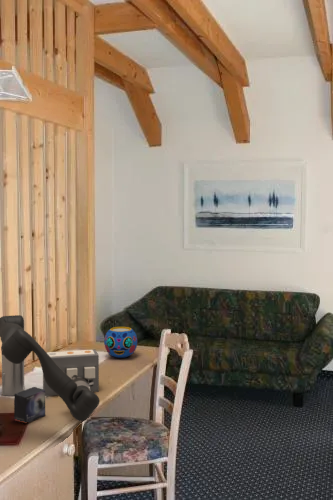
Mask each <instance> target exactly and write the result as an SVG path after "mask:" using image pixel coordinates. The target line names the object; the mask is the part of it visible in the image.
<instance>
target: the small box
mask: <svg viewBox="0 0 333 500" xmlns="http://www.w3.org/2000/svg"><path fill="white" fill-rule="evenodd" d="M13 399H14V400H13V401H14V403H13V406H14V408H13V409H14V412H13V413H14V415H13V416H14V418H13V420H14V419H17V420H20V421H24V422H29V423H32V422H34V421H37V420H38V419H42V418H44V417H46V396H45V390H44V389H43V388H41V387H37V386H33V387H30V388H27V389H25V390H24V391H21V392H18V393H15V394H14V396H13ZM29 423H28V424H29Z"/></svg>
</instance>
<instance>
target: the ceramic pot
mask: <svg viewBox="0 0 333 500" xmlns="http://www.w3.org/2000/svg"><path fill="white" fill-rule="evenodd" d="M137 336H138V335H137V333H136V332H135V330H134V329H133V328H131V327H129V326H114V327H111V328H110V329H109V330H107V332H105V336H104V343H103V344H104V348H105V350H106V352H107V354H108V355H110V356H111V357H114V358H119V359H123V358H127V357H131V355H133V354H134V353H135V351H136V350H137V346H138V337H137Z"/></svg>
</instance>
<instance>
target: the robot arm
mask: <svg viewBox="0 0 333 500" xmlns="http://www.w3.org/2000/svg"><path fill="white" fill-rule="evenodd" d="M24 319H25V318H24V317H23V316H22V315H19V314H18V315H16V314H15V315H3V316H0V342H1V346H0V350H1V352H0V353H1V395H2V396H9V397H10V396H11V397H14V394H15V393H18V392H21V391H24V390H26V389H25V386H26V385H25V360H26V359H27V358H28V357H29V355H31V353H32V352H33V353H34V354H35V355H36V357H37V359H38V361H39V364H40V366H41V370H42V376H43V375H44V378H45V381H46V383H47V385H48V386H49V387H50V388H51V389H52V390H53V391H54V392H55V393H56V394H57V395H56V396H58V397H59V398H60V399H61V400H62V401H63V402H64V404H65V406H66V407H67V409H68V410H69V413H70V414H71V415H72V417H73V418H74V419H75V420H76V421H78V422H85V421H86V420H88V419H89V417H90V416H91V415H92V414H93V413H94V412H95V410H97V408H98V406H99V404H100V398H99V396H98V395H97V394H96V392H92V391H91V390H90V387H89V386H93V379H89V378H85V377H82V378H80V377H79V376H77V375H73V376H72V379H71V378H70V377H69V376H68V375H67V374H65V373H64V372H63V371H62V370H61V369H60V368H59V367H58V366H57V364H56V363H55V362H54V361H53V360H52V359H51V357H50V356H49V355H48V354H47V351H46V350H45V349H44V348H43V347H42V346H41V345H40V344H39V342H38V341H36V339H35V338H34V337H33V336H32V335H31V334H29V333H28V332H27V331H26V330H25V320H24Z"/></svg>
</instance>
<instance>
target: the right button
mask: <svg viewBox="0 0 333 500" xmlns="http://www.w3.org/2000/svg"><path fill="white" fill-rule="evenodd" d="M84 377H85V378H95V366H86V367H84Z"/></svg>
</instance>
